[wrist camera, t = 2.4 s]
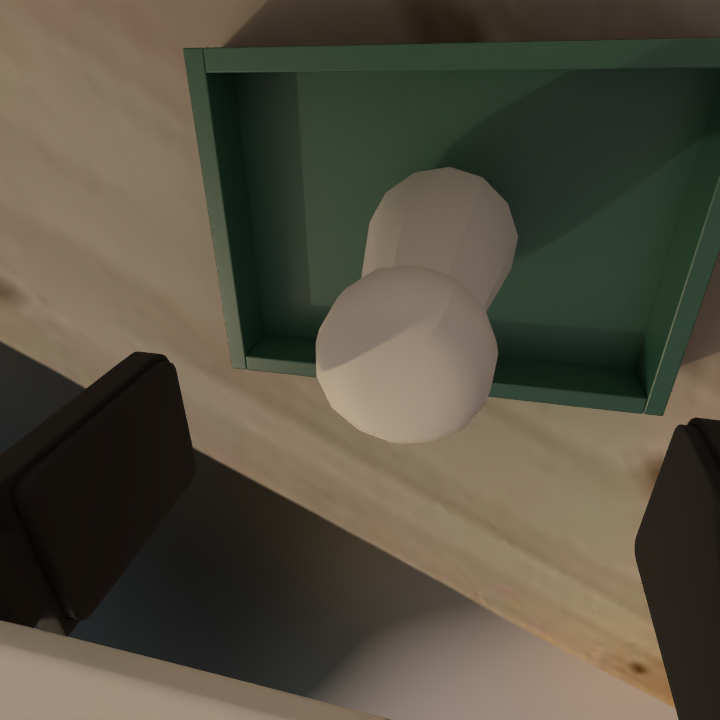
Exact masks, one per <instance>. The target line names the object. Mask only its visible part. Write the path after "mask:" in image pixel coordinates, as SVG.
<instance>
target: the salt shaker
mask: <svg viewBox="0 0 720 720" xmlns="http://www.w3.org/2000/svg"><path fill="white" fill-rule="evenodd" d="M517 240H518V235H517V231H516V228H515V225H514V222H513V218H512V215H511V212H510V209H509V206H508V203H507V202H506V201H505V200H504V199H503V198H502V197H501V196H500V195H499V194H498V193H497V192H496V191H495V190H494V189H493V188H492V187H491V185H490V184H489V183H488V182H487V181H486V180H485V179H484V178H483V177H480V176H477V175H474V174H471V173H468V172H464V171H461V170H458V169H455V168H452V167H445V168H439V169H433V170H426V171H420V172H415V173H413V174H411V175H410V176H409V177H407V178H406V179H404V180H403V181H402V182H400V183H399V184H397V185H396V186H395V187H393V188H392V189H390V190H389V191H388V192H386V193H385V195H384V197H383V199H382V201H381V202H380V204H379V206H378V208H377V210H376V211H375V213H374V215H373V217H372V219H371V221H370V223H369V230H368V236H367V243H366V250H365V256H364V263H363V270H362V276H361V279H360V280H358V281H356V282H355V283H353V284H352V285H350V286H349V287H347V288H346V289H344V291H343V292H342V293H341V294H340V295H339V297H338V298H337V299H336V301H335V303H334V304H333V306H332V308H331V310H330V311H329V313H328V315H327V317H326V318H325V320H324V322H323V324H322V325H321V327H320V329H319V332H318V336H317V340H316V377H317V379H318V381H319V383H320V385H321V387H322V389H323V391H324V393H325V395H326V397H327V399H328V401H329V403H330V405H331V407H332V408H333V409H334V410H335V411H336V412H338V413H339V414H340V415H341V416H342V417H344V418H345V419H346V420H347V421H349V422H350V423H351V424H352V425H353V426H355V427H356V428H357V429H358V430H359V431H362V432H365V433H367V434H370V435H373V436H376V437H378V438H381V439H384V440H386V441H389V442H392V443H431V442H433V441H436V440H438V439H441V438H443V437H446V436H448V435H450V434H453V433H455V432H458V431H460V430H463V429H464V428H465V427H466V426H467V425H468V423H469V422H470V421H471V420H472V419H473V417H474V416H475V415H476V414H477V413H478V412H479V410H480V409H481V408H482V407H483V406H484V404H485V403H486V401H487V398H488V396H489V393H490V390H491V386H492V381H493V376H494V372H495V367H496V362H497V357H498V349H497V342H496V338H495V336H494V333H493V330H492V327H491V324H490V322H489V319H488V316H487V313H486V311H487V310H488V308H489V306H490V305H491V303H492V301H493V300H494V298H495V296H496V294H497V293H498V291H499V289H500V288H501V286H502V284H503V282H504V281H505V279H506V277H507V276H508V274H509V272H510V271H511V268H512V263H513V259H514V254H515V249H516V245H517Z"/></svg>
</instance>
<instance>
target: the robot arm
mask: <svg viewBox="0 0 720 720" xmlns="http://www.w3.org/2000/svg"><path fill="white" fill-rule="evenodd" d="M195 472H196V461H195V456H194V452H193V447H192V442H191V438H190V433H189V428H188V423H187V419H186V414H185V409H184V405H183V400H182V395H181V391H180V386H179V381H178V377H177V372H176V368H175V366H174V365H173V364H172V363H170V362H169V360H168V359H167V357H166V356H164V355H163V354H155V353H146V352H134V353H132V354H131V355H129V356H128V357H127V358H125V359H124V360H123V361H122V362H120V363H119V364H118V365H116V366H115V367H114V368H112V369H111V370H110V371H109V372H107V373H106V374H105V375H103V376H102V377H101V378H99V379H98V380H97V381H96V382H94V383H93V384H92V385H90V386H89V387H88V388H86V389H85V390H84V391H83V392H81V393H80V394H79V395H77V396H76V397H75V398H73V399H72V400H71V401H70V402H68V403H67V404H66V405H64V406H63V407H62V408H60V409H59V410H58V411H57V412H55V413H54V414H53V415H51V416H50V417H49V418H48V419H46V420H45V421H44V422H42V423H41V424H40V425H39V426H37V427H36V428H35V429H33V430H32V431H31V432H29V433H28V434H27V435H25V436H24V437H23V438H21V439H20V440H19V441H18V442H16V443H15V444H14V445H12V446H11V447H10V448H8V449H7V450H6V451H5V452H3V453H2V454H1V455H0V720H391V719H387V718H383V717H379V716H375V715H372V714H368V713H364V712H360V711H356V710H352V709H348V708H344V707H340V706H337V705H333V704H329V703H325V702H321V701H317V700H314V699H310V698H306V697H302V696H298V695H294V694H290V693H286V692H283V691H279V690H274V689H271V688H267V687H263V686H259V685H256V684H252V683H248V682H244V681H240V680H236V679H232V678H228V677H224V676H221V675H217V674H212V673H209V672H205V671H201V670H197V669H193V668H189V667H185V666H181V665H178V664H174V663H169V662H166V661H162V660H158V659H154V658H150V657H146V656H142V655H138V654H134V653H130V652H126V651H122V650H118V649H114V648H110V647H106V646H102V645H98V644H94V643H90V642H86V641H82V640H78V639H74V638H71V637H68V636H69V635H70V633H71V632H72V631H73V629H74V628H75V627H76V625H77V624H78V623H79V621H80V620H85V619H87V618H88V617H89V616H90V615H91V614H92V613H93V612H94V611H95V609H96V608H97V607H98V605H99V604H100V603H101V601H102V600H103V599H104V597H105V596H106V595H107V593H108V592H109V591H110V589H111V588H112V587H113V585H114V584H115V583H116V581H117V580H118V579H119V577H120V576H121V575H122V573H123V572H124V571H125V569H126V568H127V567H128V566H129V564H130V563H131V561H132V560H133V559H134V558H135V556H136V555H137V554H138V552H139V551H140V550H141V548H142V547H143V546H144V544H145V543H146V542H147V540H148V539H149V538H150V536H151V535H152V534H153V532H154V531H155V529H156V528H157V527H158V526H159V524H160V523H161V522H162V520H163V519H164V518H165V516H166V515H167V514H168V512H169V511H170V510H171V508H172V507H173V506H174V504H175V503H176V502H177V501H178V499H179V498H180V497H181V495H182V494H183V493H184V491H185V490H186V489H187V487H188V485H190V483H191V482H192V480H193V478H194V476H195ZM635 557H636V562H637V566H638V569H639V573H640V577H641V581H642V584H643V588H644V592H645V595H646V599H647V603H648V607H649V610H650V614H651V618H652V622H653V625H654V629H655V633H656V637H657V640H658V644H659V648H660V651H661V655H662V659H663V663H664V666H665V670H666V674H667V678H668V681H669V685H670V689H671V693H672V696H673V700H674V704H675V708H676V711H677V715H678V719H679V720H720V420H711V419H703V418H693V419H691V420H690V421H689V422H688V424H687V425H678V426H677V427H676V429H675V431H674V433H673V436H672V439H671V441H670V444H669V447H668V450H667V453H666V455H665V458H664V461H663V464H662V466H661V469H660V472H659V475H658V478H657V480H656V483H655V486H654V489H653V491H652V494H651V497H650V500H649V503H648V505H647V508H646V511H645V514H644V516H643V519H642V522H641V525H640V528H639V530H638V533H637V536H636V540H635ZM36 624H37V625H38V627H39V629H40V630H39V629H35V628H34V627H35V626H36Z"/></svg>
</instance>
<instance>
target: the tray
mask: <svg viewBox="0 0 720 720" xmlns="http://www.w3.org/2000/svg"><path fill="white" fill-rule="evenodd" d="M183 52H184V58H185V65H186V71H187V78H188V84H189V90H190V97H191V103H192V110H193V116H194V123H195V129H196V136H197V142H198V149H199V155H200V162H201V168H202V175H203V181H204V188H205V194H206V201H207V207H208V213H209V220H210V226H211V233H212V239H213V246H214V252H215V259H216V265H217V272H218V278H219V285H220V291H221V298H222V304H223V311H224V317H225V323H226V330H227V336H228V343H229V349H230V356H231V362H232V368H236V369H245V370H246V369H248V370H255V371H264V372H273V373H282V374H291V375H300V376H309V377H316V340H317V336H318V332H319V329H320V327H321V325H322V324H323V322H324V320H325V318H326V317H327V315H328V313H329V311H330V310H331V308H332V306H333V304H334V303H335V301H336V299H337V298H338V297H339V295H340V294H341V293H342V292H343V291H344V289H346V288H347V287H349V286H350V285H352V284H353V283H355V282H356V281H358V280H360V279H361V276H362V270H363V263H364V256H365V250H366V243H367V236H368V230H369V223H370V221H371V219H372V217H373V215H374V213H375V211H376V210H377V208H378V206H379V204H380V202H381V201H382V199H383V197H384V195H385V193H386V192H388V191H389V190H390V189H392V188H393V187H395V186H396V185H397V184H399V183H400V182H402V181H403V180H404V179H406V178H407V177H409V176H410V175H411V174H413V173H415V172H420V171H426V170H433V169H439V168H445V167H452V168H455V169H458V170H461V171H464V172H468V173H471V174H474V175H477V176H480V177H483V178H484V179H485V180H486V181H487V182H488V183H489V184H490V185H491V187H492V188H493V189H494V190H495V191H496V192H497V193H498V194H499V195H500V196H501V197H502V198H503V199H504V200H505V201H506V202H507V203H508V206H509V209H510V212H511V215H512V218H513V222H514V225H515V228H516V231H517V235H518V240H517V245H516V249H515V254H514V259H513V263H512V268H511V271H510V272H509V274H508V276H507V277H506V279H505V281H504V282H503V284H502V286H501V288H500V289H499V291H498V293H497V294H496V296H495V298H494V300H493V301H492V303H491V305H490V306H489V308H488V310H487V311H486V313H487V316H488V319H489V322H490V324H491V327H492V330H493V333H494V336H495V338H496V342H497V349H498V357H497V362H496V367H495V372H494V376H493V381H492V386H491V390H490V393H489V396H488V397H496V398H505V399H514V400H523V401H532V402H540V403H549V404H558V405H567V406H576V407H585V408H594V409H603V410H612V411H621V412H630V413H639V414H642V413H644V414H648V415H657V416H663V414H664V411H665V408H666V405H667V402H668V400H669V397H670V394H671V391H672V388H673V385H674V382H675V379H676V376H677V373H678V370H679V368H680V365H681V362H682V359H683V356H684V353H685V350H686V347H687V344H688V341H689V339H690V336H691V333H692V330H693V327H694V324H695V321H696V318H697V315H698V312H699V309H700V307H701V304H702V301H703V298H704V295H705V292H706V289H707V286H708V283H709V280H710V277H711V275H712V272H713V269H714V266H715V263H716V260H717V257H718V254H719V251H720V37H717V38H666V39H616V40H566V41H516V42H466V43H415V44H365V45H315V46H265V47H215V48H184V49H183Z"/></svg>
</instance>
